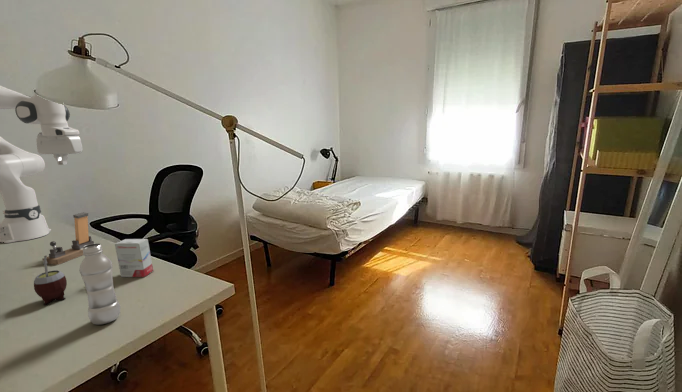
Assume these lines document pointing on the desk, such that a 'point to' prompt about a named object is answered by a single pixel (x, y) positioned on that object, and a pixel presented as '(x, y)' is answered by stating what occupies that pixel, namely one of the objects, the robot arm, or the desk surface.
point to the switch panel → (67, 252)
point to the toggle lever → (53, 245)
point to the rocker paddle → (81, 227)
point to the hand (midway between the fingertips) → (62, 164)
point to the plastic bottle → (99, 285)
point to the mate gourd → (50, 285)
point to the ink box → (134, 257)
